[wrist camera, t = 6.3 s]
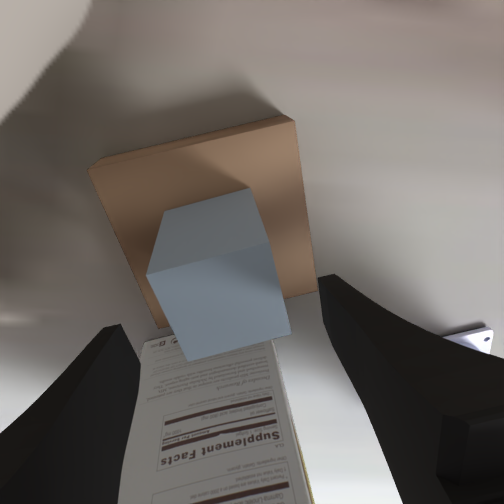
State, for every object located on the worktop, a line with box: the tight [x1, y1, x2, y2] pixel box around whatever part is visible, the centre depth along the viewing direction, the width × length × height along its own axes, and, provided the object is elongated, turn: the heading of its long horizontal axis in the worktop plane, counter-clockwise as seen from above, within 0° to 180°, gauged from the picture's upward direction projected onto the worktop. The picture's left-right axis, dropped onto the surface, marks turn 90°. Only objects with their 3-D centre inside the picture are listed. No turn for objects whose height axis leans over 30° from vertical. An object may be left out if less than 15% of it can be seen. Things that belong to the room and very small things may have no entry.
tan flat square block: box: [87, 115, 318, 329], centre depth 20 cm, size 10×10×3 cm
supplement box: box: [118, 335, 315, 504], centre depth 19 cm, size 10×9×17 cm
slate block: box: [146, 188, 292, 362], centre depth 16 cm, size 4×4×6 cm
